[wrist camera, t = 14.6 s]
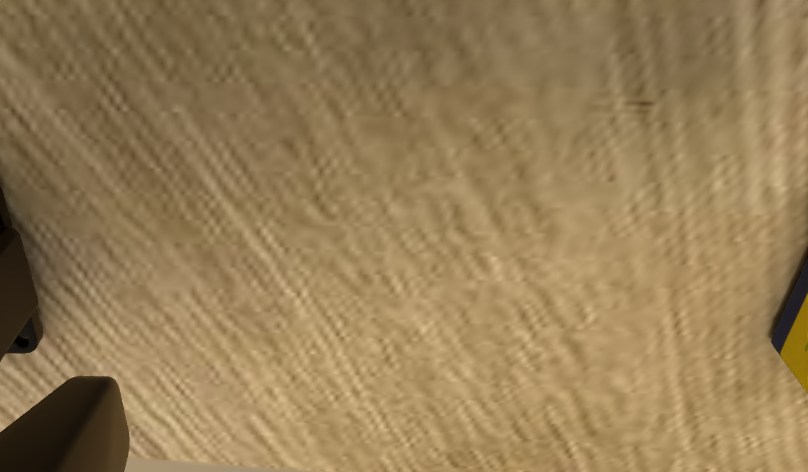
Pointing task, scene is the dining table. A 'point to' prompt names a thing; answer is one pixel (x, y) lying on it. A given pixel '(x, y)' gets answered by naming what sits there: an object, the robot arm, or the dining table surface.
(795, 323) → the supplement box
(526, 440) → the dining table surface
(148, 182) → the dining table surface
